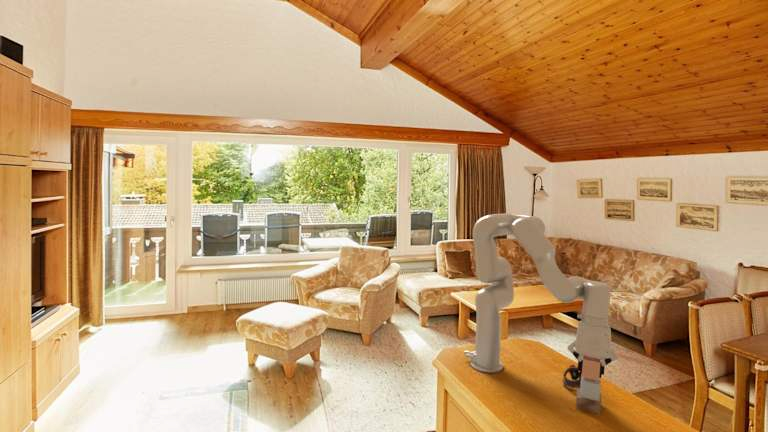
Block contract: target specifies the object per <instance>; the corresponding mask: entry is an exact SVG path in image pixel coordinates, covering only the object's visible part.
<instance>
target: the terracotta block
mask: <svg viewBox="0 0 768 432" xmlns="http://www.w3.org/2000/svg"><path fill="white" fill-rule="evenodd" d="M582 360H583V366H582V377H583V378H588V379H592V380H597V381H599V375H600V362H601V360H600V358H597V357H592V356H587V355H584V356H583V358H582Z"/></svg>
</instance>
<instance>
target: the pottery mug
mask: <svg viewBox="0 0 768 432" xmlns="http://www.w3.org/2000/svg"><path fill="white" fill-rule="evenodd" d="M568 373H569V374H570V378H571V379H569V378H568V377H567V374H568ZM562 374H563V378H562V379H563V380H562V385H563V387H568V388H572V389H574V388H576V389H577V388H580V386H581V374H580V370H578V366H576V365H575V364H570V365H569V367H567V368H566V369H565V370H564V372H563V373H562Z"/></svg>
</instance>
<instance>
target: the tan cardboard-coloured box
mask: <svg viewBox="0 0 768 432" xmlns="http://www.w3.org/2000/svg"><path fill="white" fill-rule="evenodd" d="M601 399H602V398H601V395H600V400H599V401H596V400H591V399H587V398H582V397H580V387H578V388H576V398H575V401H576V403H575V409H576V410H579V411H584V412H587V413H593V414H597V415H601V411H602V400H601Z"/></svg>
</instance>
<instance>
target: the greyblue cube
mask: <svg viewBox="0 0 768 432" xmlns="http://www.w3.org/2000/svg"><path fill="white" fill-rule="evenodd" d="M601 386H602V385H601V378H599V381H597V380H592V379H588V378H583V377H582V374H581V386H580V387H579V389H580V397H582V398H587V399H591V400H596V401H599V400H600V396H601V388H602V387H601Z"/></svg>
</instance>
